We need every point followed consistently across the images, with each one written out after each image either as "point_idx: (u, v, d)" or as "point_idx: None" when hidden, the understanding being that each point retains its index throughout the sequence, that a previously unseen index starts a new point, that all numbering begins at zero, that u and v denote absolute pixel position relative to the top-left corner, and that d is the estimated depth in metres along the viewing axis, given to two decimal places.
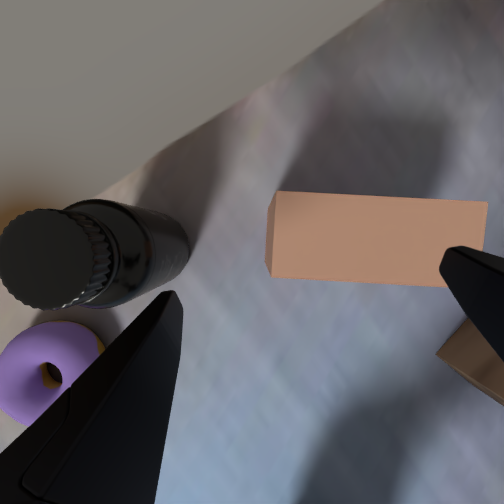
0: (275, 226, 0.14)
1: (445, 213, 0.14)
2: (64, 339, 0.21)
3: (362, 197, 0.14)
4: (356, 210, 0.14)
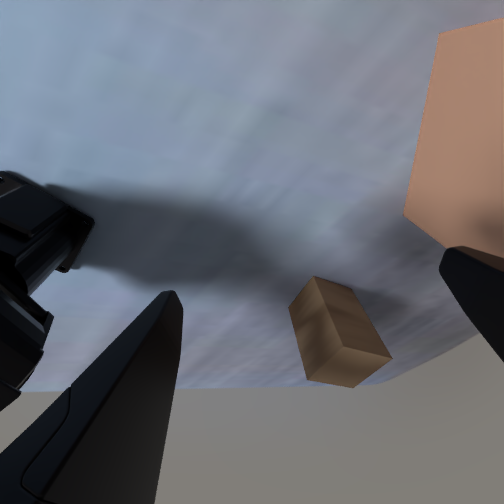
0: None
1: None
2: None
3: None
4: None
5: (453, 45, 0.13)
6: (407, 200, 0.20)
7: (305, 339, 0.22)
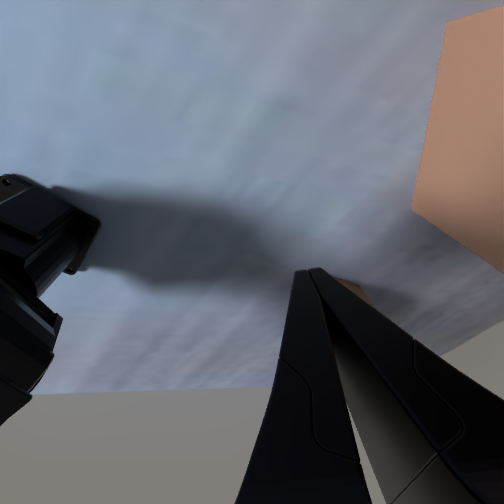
0: None
1: None
2: None
3: None
4: None
5: (461, 33, 0.13)
6: (415, 194, 0.20)
7: None
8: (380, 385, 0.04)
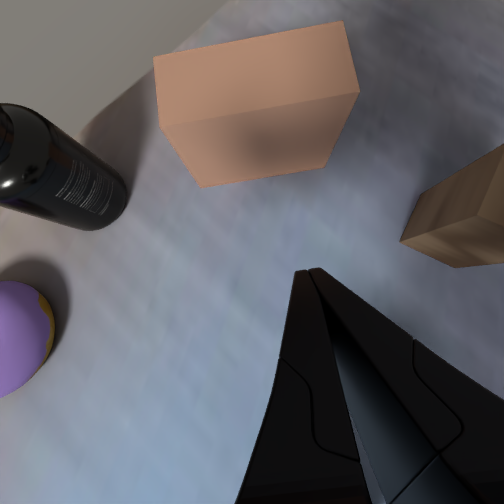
0: (156, 83, 0.15)
1: (307, 38, 0.15)
2: (0, 290, 0.20)
3: (229, 44, 0.15)
4: (226, 54, 0.15)
5: (203, 181, 0.22)
6: (309, 169, 0.23)
7: (493, 253, 0.16)
8: (380, 385, 0.04)
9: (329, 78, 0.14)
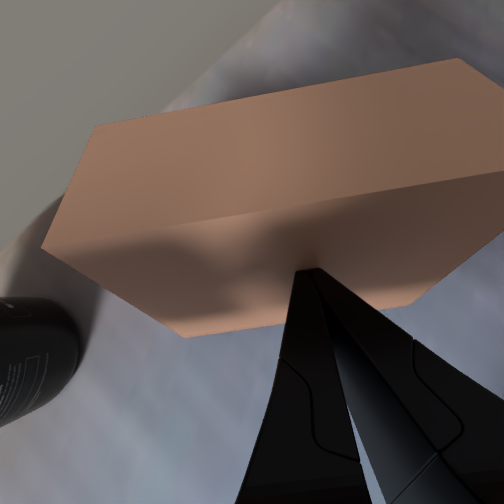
0: (79, 162, 0.07)
1: (394, 82, 0.07)
2: None
3: (238, 101, 0.08)
4: (231, 114, 0.07)
5: (187, 329, 0.12)
6: (382, 307, 0.12)
7: None
8: (380, 385, 0.04)
9: (483, 135, 0.06)
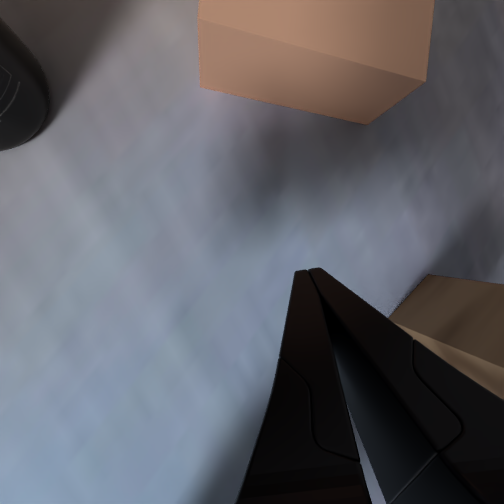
0: None
1: None
2: None
3: None
4: None
5: None
6: (403, 70, 0.13)
7: None
8: (380, 385, 0.04)
9: None
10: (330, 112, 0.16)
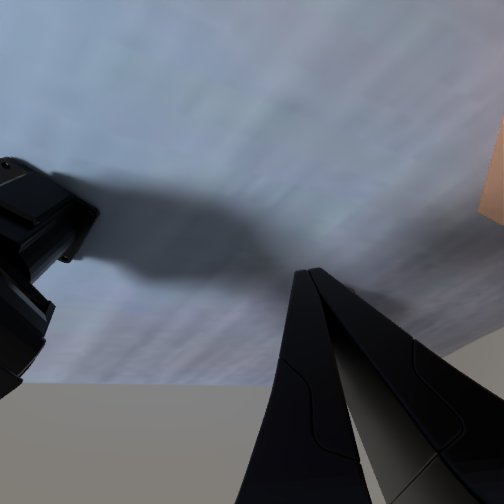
0: None
1: None
2: None
3: None
4: None
5: None
6: None
7: None
8: (380, 385, 0.04)
9: None
10: (490, 179, 0.19)
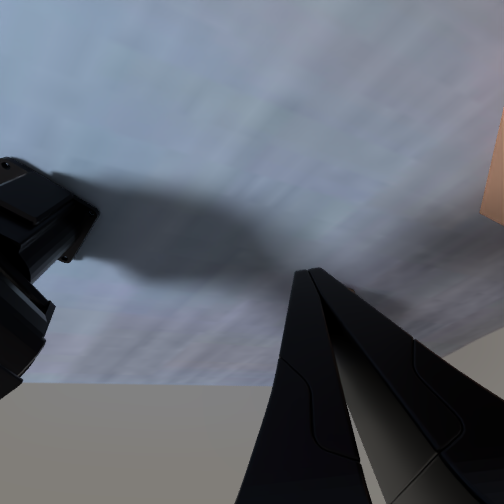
0: None
1: None
2: None
3: None
4: None
5: None
6: None
7: None
8: (380, 385, 0.04)
9: None
10: (491, 181, 0.19)
